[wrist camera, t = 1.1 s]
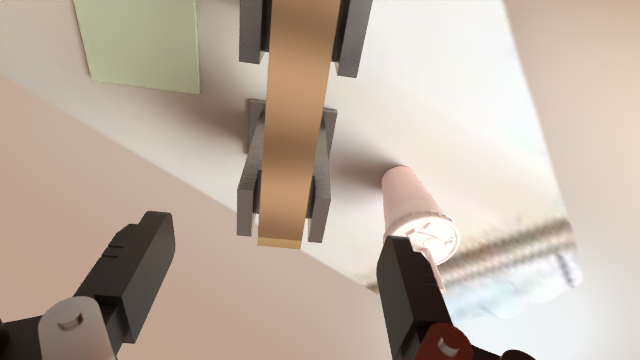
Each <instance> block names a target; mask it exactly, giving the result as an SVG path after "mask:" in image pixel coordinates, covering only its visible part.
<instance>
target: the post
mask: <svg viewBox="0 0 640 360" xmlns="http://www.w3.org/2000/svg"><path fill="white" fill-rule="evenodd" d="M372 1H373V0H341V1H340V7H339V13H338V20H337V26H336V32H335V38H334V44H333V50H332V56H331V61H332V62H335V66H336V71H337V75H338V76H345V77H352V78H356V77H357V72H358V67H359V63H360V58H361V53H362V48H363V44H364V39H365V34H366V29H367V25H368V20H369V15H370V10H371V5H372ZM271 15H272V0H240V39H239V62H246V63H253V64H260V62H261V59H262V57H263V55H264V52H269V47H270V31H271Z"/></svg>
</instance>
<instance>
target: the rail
mask: <svg viewBox="0 0 640 360" xmlns="http://www.w3.org/2000/svg"><path fill="white" fill-rule="evenodd" d="M340 1H341V0H272V15H271V31H270V47H269V64H268V80H267V96H266V112H265V128H264V145H263V161H262V177H261V193H260V209H259V226H258V243H257V245H258V246H270V247H282V248H292V249H300V247H301V241H302V235H303V229H304V223H305V217H306V210H307V204H308V198H309V192H310V186H311V180H312V173H313V167H314V161H315V155H316V149H317V143H318V137H319V130H320V124H321V118H322V112H323V106H324V100H325V93H326V87H327V81H328V75H329V69H330V63H331V56H332V50H333V44H334V38H335V32H336V26H337V20H338V13H339V7H340Z"/></svg>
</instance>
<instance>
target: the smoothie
mask: <svg viewBox="0 0 640 360" xmlns="http://www.w3.org/2000/svg"><path fill="white" fill-rule="evenodd" d="M382 194H383V206H384V218H385V234H384V236H383V245H384V243H385V240H386V238H387V236H388V235H393V236H403V237H408V238H409V239H410V242H411V245H412V248H413V251H417V252H421V253H422V254H423V255H424V256H425V258H426V259H427V260H428V261H429V262H430V265H431V267H432V270H433V273H434V277H435V278H436V281H437V283H438V287H439V289H440V291H441V294H443V293H445V292H446V290H445V287H444V284H443V282H442V279H441V277H440V274H439V272H438V269H437V265H439V264H441V263H443V262H444V261H446V260H447V259H449V258H450V257H451V256H452V255H453V254H454V253H455V251H456V250H457V248H458V246H459V243H460V233H459V230H458V228H457V225H456V223H455V221H454V220H453V219H452V218H451V217H450V216H449V215H448V214H446V213H444V212H443V211H442V209H441V208H440V207H439V205H438V204H437V203H436V201H435V200H434V199H433V197H432V196H431V194H430V193H429V192H428V190H427V189H426V188H425V186H424V185H423V184H422V182H421V181H420V179H419V178H418V177H417V175H416V174H415V173H414V171H413V170H412V169H411V168H409V167H406V166H396V167H393V168H391V169H389V170H388V171H387V172H386V173H385V174H384V175H383V177H382Z"/></svg>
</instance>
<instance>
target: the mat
mask: <svg viewBox="0 0 640 360" xmlns="http://www.w3.org/2000/svg"><path fill="white" fill-rule="evenodd" d="M73 2H74V6H75V11H76V15H77V19H78V23H79V28H80V32H81V36H82V41H83V45H84V49H85V54H86V58H87V62H88V66H89V71H90V75H91V79H92V81H98V82H106V83H113V84H121V85H129V86H136V87H144V88H151V89H159V90H167V91H174V92H182V93H190V94H197V95H199V94H200V93H201V90H200V70H199V51H198V31H197V12H196V0H73Z"/></svg>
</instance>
